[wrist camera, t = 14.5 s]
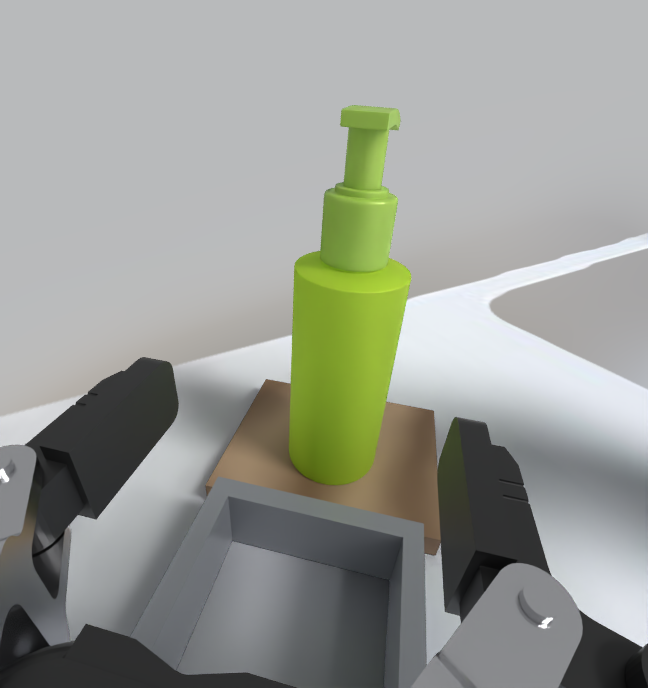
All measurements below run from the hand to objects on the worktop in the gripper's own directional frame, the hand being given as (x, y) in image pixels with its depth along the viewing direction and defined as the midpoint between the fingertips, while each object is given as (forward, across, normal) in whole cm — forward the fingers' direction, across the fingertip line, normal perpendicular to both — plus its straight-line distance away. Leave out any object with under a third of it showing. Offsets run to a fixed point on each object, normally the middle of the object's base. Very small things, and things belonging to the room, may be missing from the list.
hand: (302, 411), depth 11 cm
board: (+11, 0, +14) cm, 18 cm away
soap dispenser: (+11, 0, +13) cm, 17 cm away
